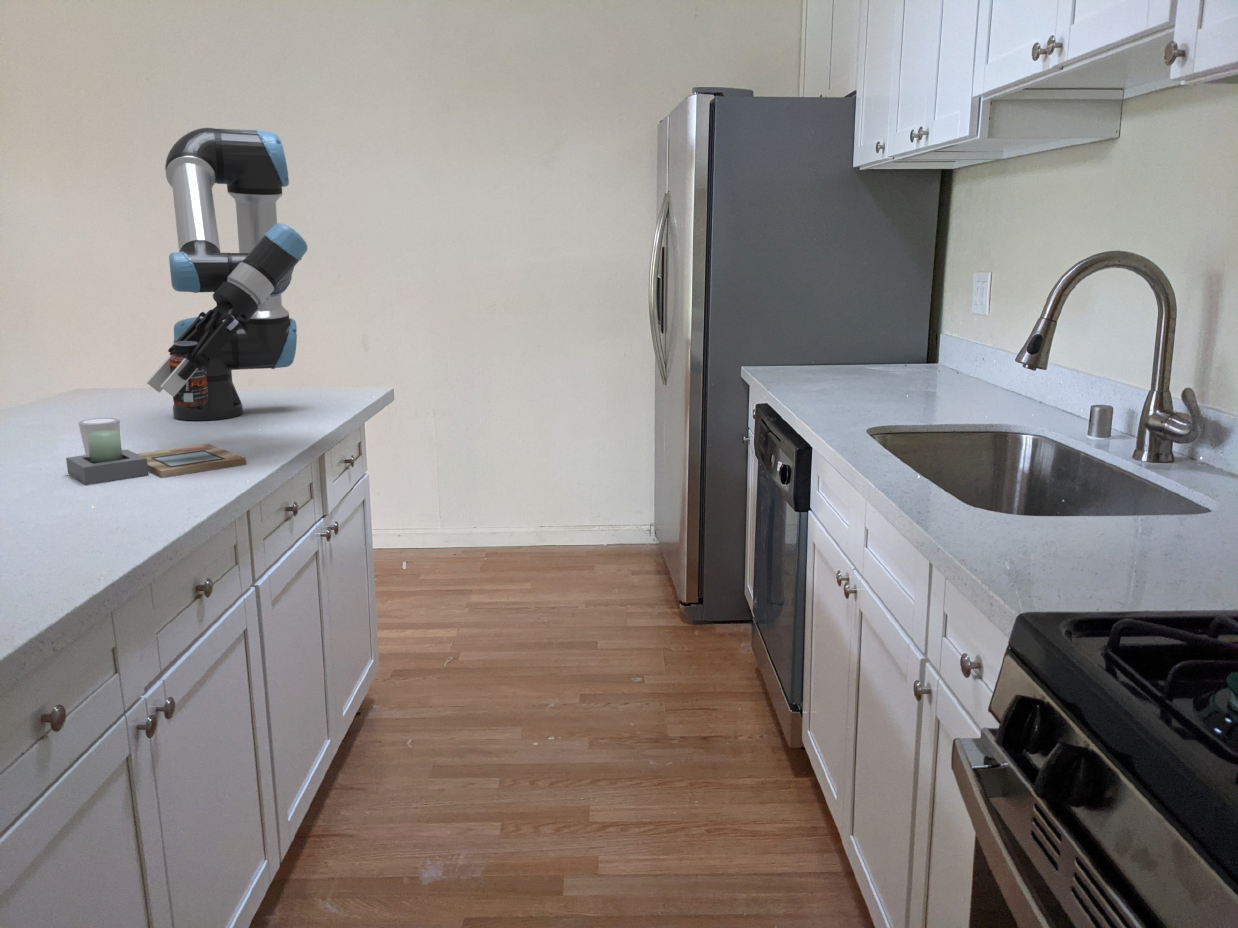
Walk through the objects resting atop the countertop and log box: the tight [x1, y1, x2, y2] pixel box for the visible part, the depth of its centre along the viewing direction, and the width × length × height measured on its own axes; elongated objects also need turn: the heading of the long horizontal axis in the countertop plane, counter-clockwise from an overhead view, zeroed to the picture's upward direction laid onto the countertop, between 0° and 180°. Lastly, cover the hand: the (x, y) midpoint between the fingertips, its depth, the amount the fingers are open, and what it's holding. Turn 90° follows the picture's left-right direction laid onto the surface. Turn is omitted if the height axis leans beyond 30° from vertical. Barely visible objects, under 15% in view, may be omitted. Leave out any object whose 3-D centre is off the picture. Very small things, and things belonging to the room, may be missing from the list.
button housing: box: [65, 449, 149, 486], centre depth 162 cm, size 10×10×3 cm
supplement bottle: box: [169, 341, 209, 407], centre depth 167 cm, size 6×6×11 cm
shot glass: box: [77, 417, 121, 455], centre depth 176 cm, size 7×7×7 cm
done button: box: [87, 430, 123, 464], centre depth 161 cm, size 5×5×5 cm
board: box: [137, 443, 247, 478], centre depth 172 cm, size 17×15×1 cm
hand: (160, 389), depth 164 cm, fingers closed on supplement bottle, 6 cm apart
